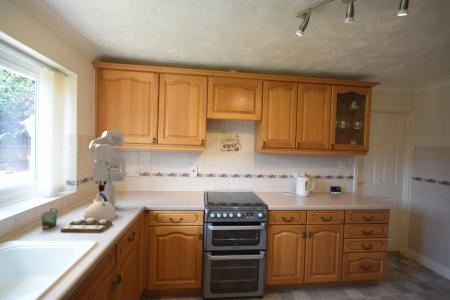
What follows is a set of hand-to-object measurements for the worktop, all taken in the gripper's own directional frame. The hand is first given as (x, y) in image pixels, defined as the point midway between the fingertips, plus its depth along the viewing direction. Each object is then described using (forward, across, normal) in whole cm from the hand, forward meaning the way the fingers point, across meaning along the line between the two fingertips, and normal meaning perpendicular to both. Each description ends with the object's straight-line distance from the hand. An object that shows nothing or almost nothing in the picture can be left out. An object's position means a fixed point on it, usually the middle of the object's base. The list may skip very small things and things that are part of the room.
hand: (101, 191), depth 142 cm
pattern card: (+19, +4, +13) cm, 23 cm away
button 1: (+19, +12, +6) cm, 23 cm away
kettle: (+23, +7, -11) cm, 26 cm away
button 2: (+19, -4, +6) cm, 20 cm away
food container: (+22, +28, +6) cm, 36 cm away
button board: (+21, +4, +9) cm, 23 cm away
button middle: (+18, +4, +6) cm, 19 cm away
